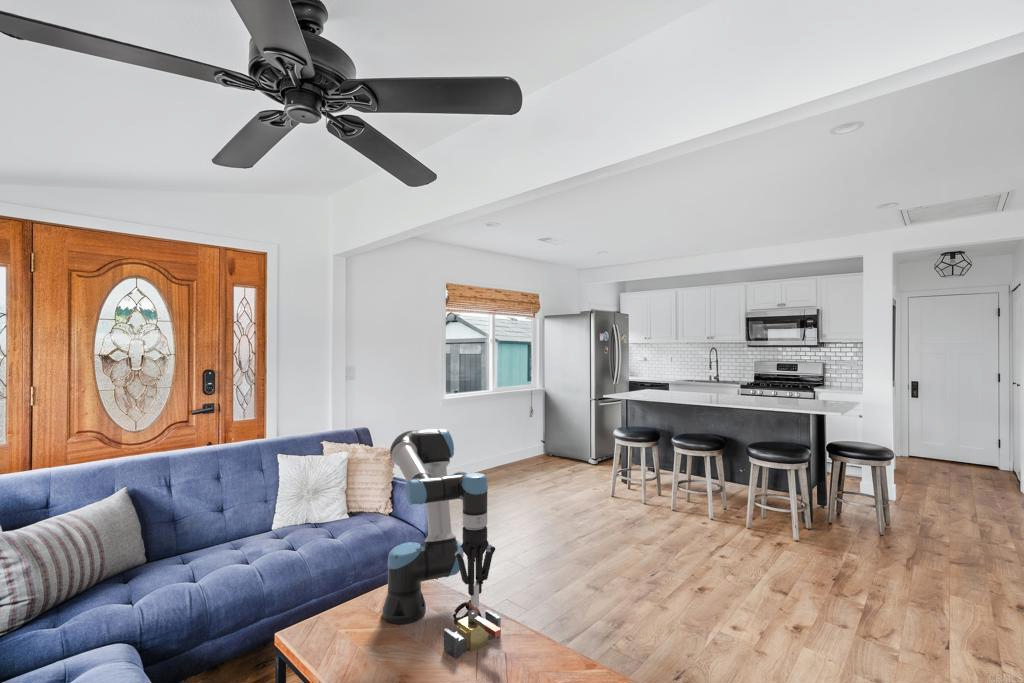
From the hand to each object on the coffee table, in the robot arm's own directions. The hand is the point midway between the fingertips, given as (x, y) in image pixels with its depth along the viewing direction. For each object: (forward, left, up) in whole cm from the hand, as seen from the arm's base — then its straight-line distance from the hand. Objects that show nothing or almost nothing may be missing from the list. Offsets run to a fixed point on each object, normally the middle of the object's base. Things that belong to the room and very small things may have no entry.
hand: (474, 604), depth 150 cm
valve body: (-8, +6, -17) cm, 20 cm away
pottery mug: (-18, +12, -18) cm, 28 cm away
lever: (-3, +6, -10) cm, 12 cm away
